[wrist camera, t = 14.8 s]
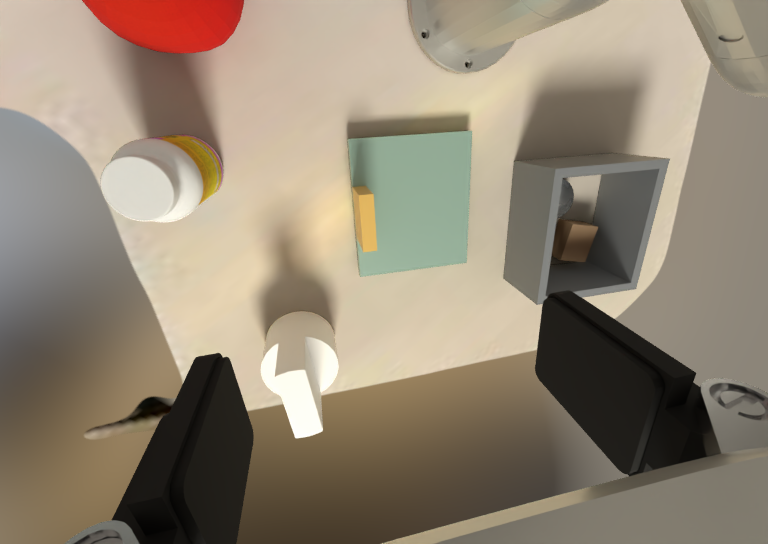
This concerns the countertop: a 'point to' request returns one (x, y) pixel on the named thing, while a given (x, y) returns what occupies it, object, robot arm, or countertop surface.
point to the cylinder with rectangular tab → (300, 367)
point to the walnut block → (573, 240)
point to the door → (410, 200)
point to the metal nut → (565, 198)
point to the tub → (612, 217)
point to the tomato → (170, 22)
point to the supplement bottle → (161, 177)
